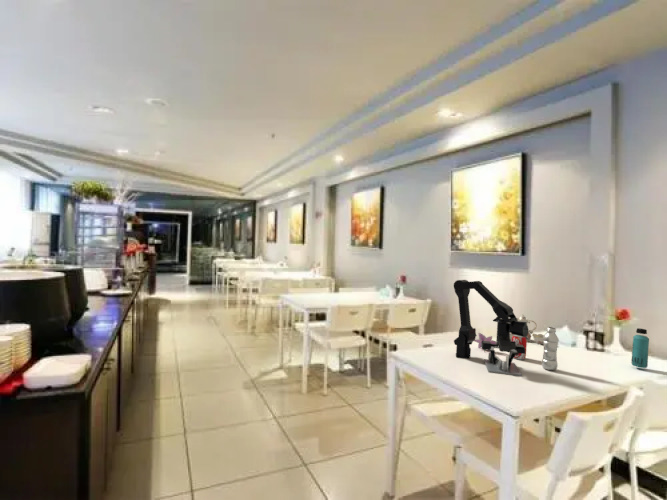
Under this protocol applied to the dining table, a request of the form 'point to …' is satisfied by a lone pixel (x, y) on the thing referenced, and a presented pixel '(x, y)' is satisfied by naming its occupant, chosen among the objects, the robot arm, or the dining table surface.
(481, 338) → the lily
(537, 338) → the chinaware
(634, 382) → the dining table surface
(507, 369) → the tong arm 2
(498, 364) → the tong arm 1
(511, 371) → the slate rest
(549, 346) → the plastic bottle
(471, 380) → the dining table surface
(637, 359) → the beverage bottle
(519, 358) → the soda can
